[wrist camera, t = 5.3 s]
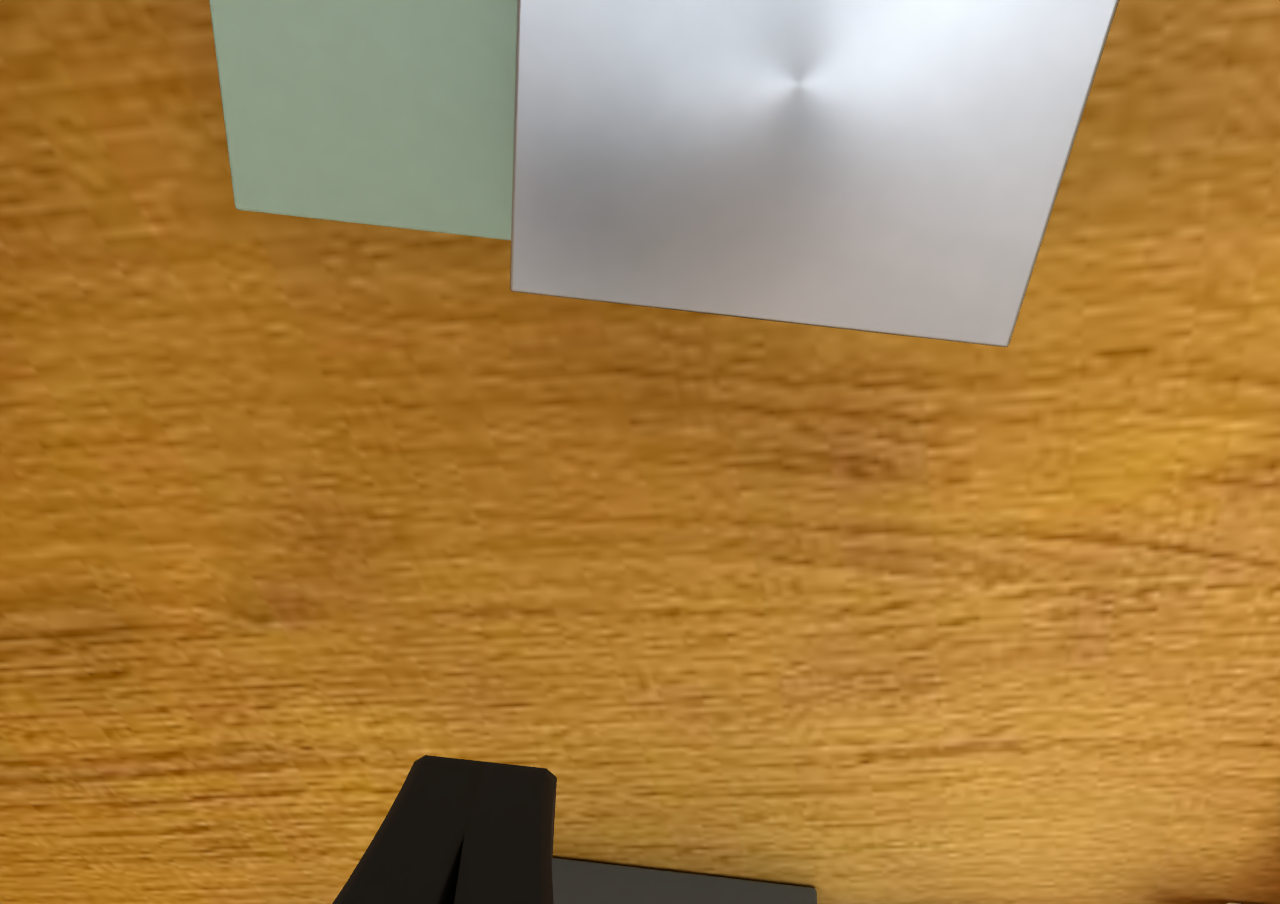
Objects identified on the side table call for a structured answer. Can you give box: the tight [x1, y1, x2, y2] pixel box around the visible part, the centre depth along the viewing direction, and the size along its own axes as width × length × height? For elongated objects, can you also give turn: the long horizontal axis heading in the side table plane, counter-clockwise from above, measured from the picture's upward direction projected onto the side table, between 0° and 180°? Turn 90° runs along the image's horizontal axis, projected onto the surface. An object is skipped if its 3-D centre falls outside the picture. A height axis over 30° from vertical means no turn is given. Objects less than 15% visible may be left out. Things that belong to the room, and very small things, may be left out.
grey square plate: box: [510, 0, 1119, 347], centre depth 14 cm, size 7×6×1 cm
